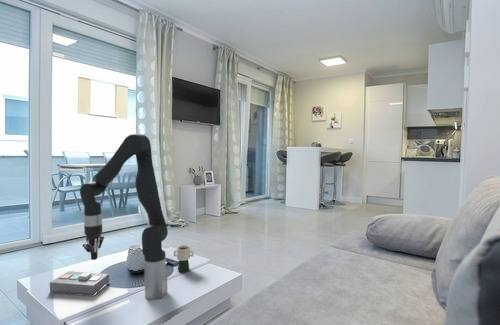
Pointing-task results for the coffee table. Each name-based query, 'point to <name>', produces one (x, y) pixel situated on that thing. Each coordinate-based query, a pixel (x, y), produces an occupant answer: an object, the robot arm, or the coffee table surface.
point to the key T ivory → (94, 278)
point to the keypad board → (78, 284)
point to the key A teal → (74, 277)
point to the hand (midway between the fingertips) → (94, 259)
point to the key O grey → (85, 276)
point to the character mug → (183, 257)
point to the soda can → (134, 248)
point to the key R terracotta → (66, 276)
